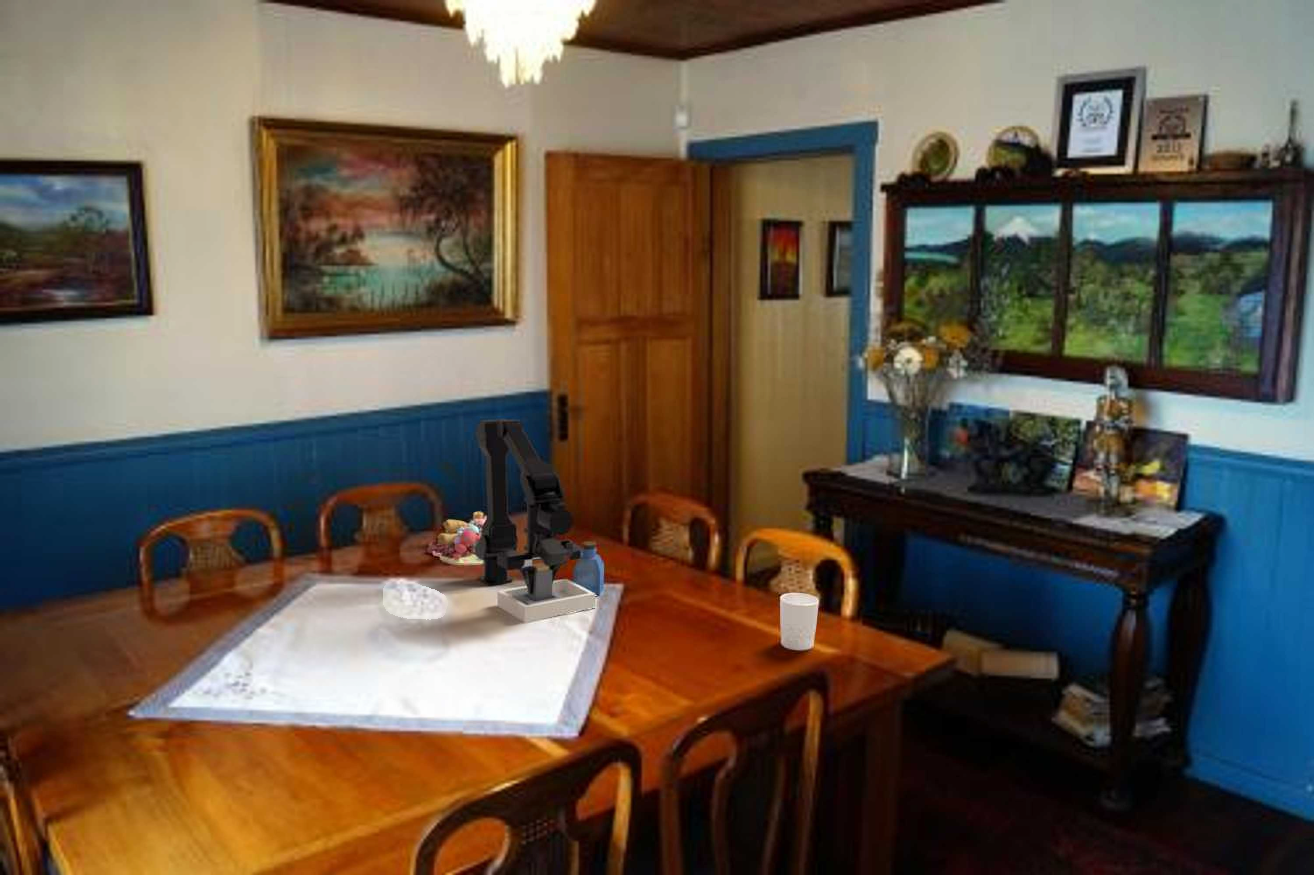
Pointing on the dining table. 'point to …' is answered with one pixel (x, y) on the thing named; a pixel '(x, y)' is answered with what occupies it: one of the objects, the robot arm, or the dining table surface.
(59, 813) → the dining table surface
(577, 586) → the box
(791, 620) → the white cup
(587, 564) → the perfume bottle
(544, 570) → the plug
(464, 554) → the food platter
